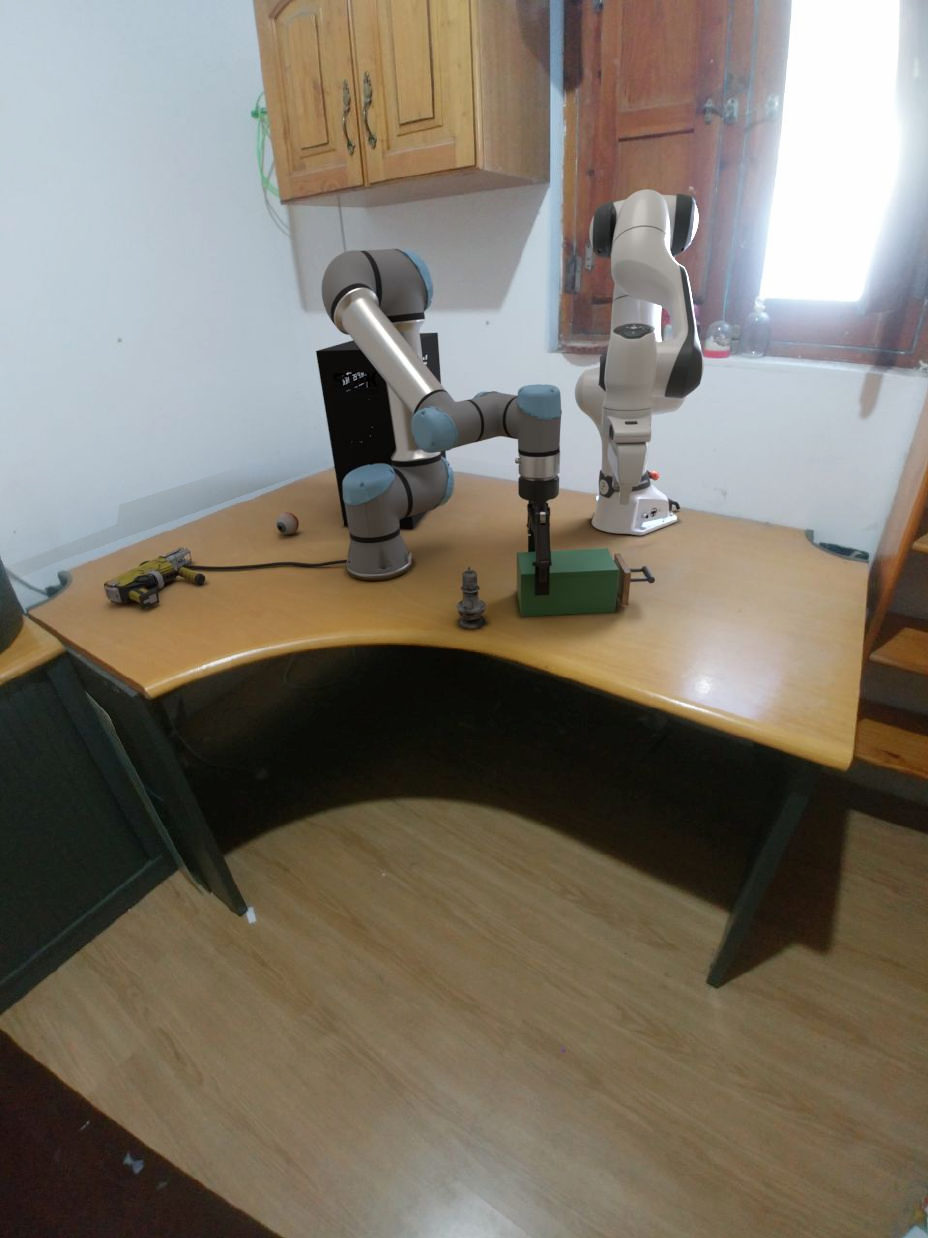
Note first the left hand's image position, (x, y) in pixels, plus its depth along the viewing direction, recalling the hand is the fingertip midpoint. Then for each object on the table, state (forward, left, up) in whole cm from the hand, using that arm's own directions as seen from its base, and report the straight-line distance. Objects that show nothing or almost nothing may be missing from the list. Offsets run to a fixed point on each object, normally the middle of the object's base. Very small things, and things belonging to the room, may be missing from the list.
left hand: (538, 579), depth 121 cm
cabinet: (+5, +3, -6) cm, 8 cm away
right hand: (+12, +11, +15) cm, 23 cm away
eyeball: (-77, +11, -6) cm, 78 cm away
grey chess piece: (-9, -12, -6) cm, 16 cm away
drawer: (+10, +5, -5) cm, 12 cm away
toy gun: (-82, -24, -6) cm, 85 cm away
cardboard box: (-61, +42, -6) cm, 74 cm away
